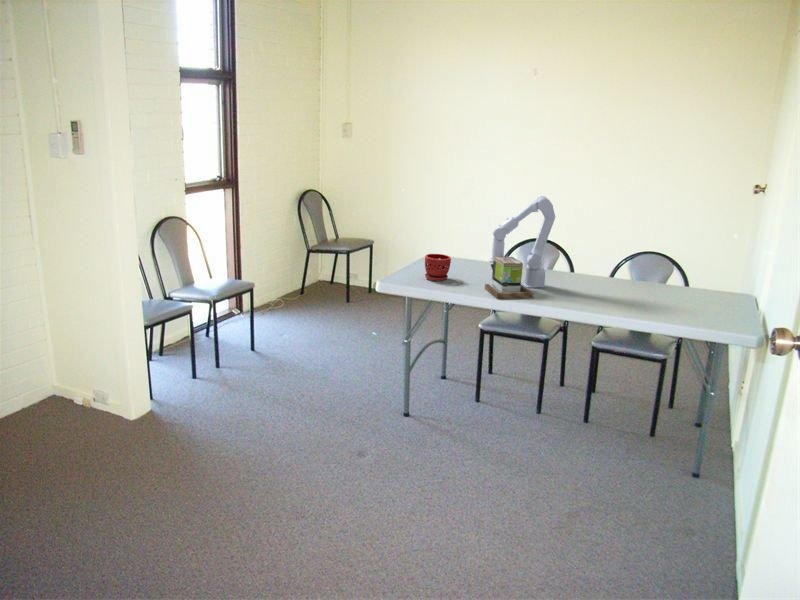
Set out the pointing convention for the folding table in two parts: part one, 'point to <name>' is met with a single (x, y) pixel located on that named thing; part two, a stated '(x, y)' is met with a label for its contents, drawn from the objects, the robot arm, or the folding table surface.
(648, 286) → the folding table surface
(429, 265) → the plant pot
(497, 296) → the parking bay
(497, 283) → the tea box
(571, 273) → the folding table surface
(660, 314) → the folding table surface
